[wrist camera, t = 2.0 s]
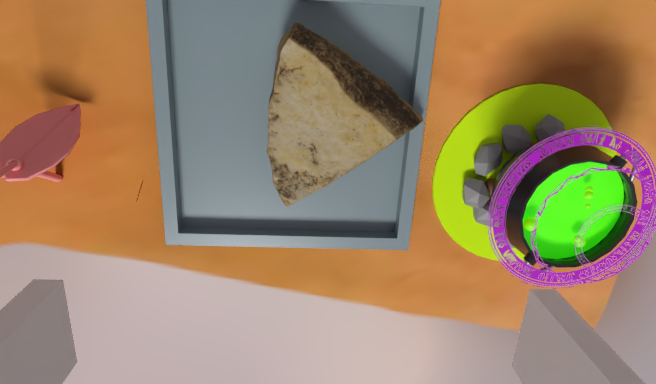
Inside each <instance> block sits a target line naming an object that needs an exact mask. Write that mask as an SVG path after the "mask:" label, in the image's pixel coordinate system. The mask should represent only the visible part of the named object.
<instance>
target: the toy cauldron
mask: <svg viewBox="0 0 656 384" xmlns="http://www.w3.org/2000/svg"><path fill="white" fill-rule="evenodd" d="M614 129H615V128H614ZM614 132H617V131H614ZM614 132H613V130H612V127H611V126H610V124H609V122H608V120H607V119H606V117H605V115H604V114H603V112H602V111H601V110H600V109H599V108H598V107H597V106H596V105H595V104H594V103H593V102H592V101H591V100H589V99H588V98H586V97H584V96H583V95H581V94H580V93H578V92H576V91H574V90H571V89H568V88H565V87H562V86H559V85H550V84H530V85H521V86H517V87H514V88H511V89H508V90H504V91H501V92H499V93H497V94H495V95H493V96H492V97H490V98H488V99H486V100H484V101H482V102H481V103H480V104H478V105H477V106H476V107H475V108H473V109H472V110H471V111H469V112H468V113H467V114H466V115H465V116H464V117H463V118H462V119H461V120H460V122H459V123H458V124H457V125H456V126H455V127H454V128H453V130H452V131H451V133H450V134H449V136H448V137H447V139H446V141H445V142H444V144H443V146H442V148H441V151H440V153H439V156H438V158H437V161H436V164H435V169H434V174H433V180H432V186H433V201H434V205H435V209H436V213H437V215H438V218H439V220H440V222H441V224H442V226H443V228H444V229H445V230H446V231H447V233H448V234H449V235H450V236H451V238H452V239H453V240H454V241H456V242H457V243H458V244H459V245H461V246H462V247H463V248H464V249H466V250H468V251H470V252H472V253H474V254H476V255H478V256H480V257H484V258H488V259H492V260H497V261H500V262H501V261H503V262H504V261H507V263H508V264H509V265H510V262H511V261H513V262H512V263H513V265H510V266H512V267H513V268H514V267H515V266H516V265H517V264H516V262H517V261H518V262H520V263H521V265H522V264H523V268H522V266H521V265H520V267H519V266H518V265H519V264H520V263H519V264H518V265H517V266H518V267H517V266H516V267H517V268H516V267H515V268H516V269H515V268H514V269H515V270H517V271H518V269H519V268H520V269H519V270H522V271H518V272H520V273H521V274H523V275H525V276H526V277H527V276H528V277H530V278H533V279H536V280H540V281H544V280H546V279H545V277H546V275H547V276H548V279H547V280H546V282H558V281H557V279H558V280H560V282H567V281H569V282H568V283H544V282H538V281H535V280H531V279H529V278H526V277H524V276H522V275H520V274H518V273H517V272H515V271H514V270H513V269H511V268H510V267H509V266H508V265H507V264H506V263H505V262H504V264H505V265H506V266H507V268H509V269H511V271H513V272H515V273H516V274H517V275H519V276H521V277H523V278H525V279H523V280H525V281H528V280H530V281H532V282H531V283H533V282H534V284H536V283H535V282H537V283H539V284H538V285H542V284H544V286H552V285H553V286H554V285H556V286H557V285H558V286H559V285H560V286H567V285H568V284H569V285H573V283H575V284H578V282H579V281H580V282H579V283H580V284H581V283H582V282H581V281H583V284H584V283H587V282H586V281H588V280H589V282H588V283H592V282H590V281H594V282H596V281H600V280H604V279H603V278H605V277H606V276H608V275H609V274H614V273H616V274H617V273H619V272H620V271H622V270H623V268H624V267H625V266H626V265H627V264H629V262H630V261H631V260H632V261H633V259H635V260H636V258H638V257H639V256H640V255H641V254H642V252H643V251H644V250H645V249H644V248H646V247H647V246H648V244H649V243H650V242H649V241H650V239H649V240H648V239H647V240H646V241H645V243H644V244H643V246H642V245H641V246H642V249H641V252H640V253H639V255H637V256H636V257H634V258H633V259H632V258H631V259H630V260H629V261H628V262H627V263H626V264H625V265H624V266H623V268H622V266H621V268H622V269H621V270H620V271H618V272H614V271H616V270H618V269H620V268H618V266H617V265H618V264H619V263H622V262H623V260H624V259H625V258H626V257H627V256H626V255H629V254H628V253H630V251H631V250H632V249H633V248H634V247H635V246H636V244H637V243H638V242H639V241H640V239H641V241H642V239H643V238H644V237H643V235H644V236H645V235H647V234H645V233H647V231H648V230H649V228H650V226H651V224H652V222H651V224H650V221H653V225H652V227H654V226H656V224H654V221H655V219H656V216H655V215H654V216H655V218H654V217H652V216H653V213H654V210H655V205H656V196H655V194H656V192H655V190H654V183H653V178H652V174H651V171H650V169H649V166H648V164H647V162H646V161H645V159H644V158H643V157H642V155H641V154H640V153H639V152H638V151H637V150H636V149H635V148H634V147H633V150H632V147H631V145H630V144H628V143H627V142H625V141H623V140H621V139H619V138H616V137H614V135H616V136H619V137H621V138H623V139H625V140H627V141H629V142H630V143H632V144H633V145H634V146H635V147H637V148H638V149H639V150H640V151H641V152H642V154H643V155H644V156H645V158H646V159H647V161H648V163H649V164H650V166H651V163H650V161H649V159H648V158H647V157H646V154H647V155H648V153H647V152H646V151H645V150H644V148H643V147H642V146H641V145H639V144H638V143H637V142H636V141H634V140H633V139H632V138H630V137H628V136H626V135H624V134H622V133H619V132H617V133H619V134H622V135H624V136H626V138H627V137H628V138H630V139H631V140H633V141H634V142H636V143H637V144H638V145H639V147H638V145H635V144H636V143H635V144H634V143H633V142H631V140H629V139H626V138H624V136H623V137H622V135H621V136H620V135H619V134H617V133H616V134H615V133H614ZM625 133H626V132H625ZM627 134H628V133H627ZM615 139H616V140H615ZM620 141H622V143H621V142H620ZM639 142H640V141H639ZM619 143H620V144H621V145H620V144H619ZM616 144H619V145H620V146H621V147H620V148H619V149H618V150H617V148H618V147H619V146H618V145H617V146H618V147H617V146H616ZM640 147H641V149H643V150H644V151H645V152H646V154H644V153H645V152H644V153H643V150H641V149H640ZM627 150H629V151H627ZM626 151H627V152H626ZM617 152H618V153H620V154H621V156H620V157H619V156H617ZM650 154H651V153H650ZM648 156H649V155H648ZM631 157H632V159H631ZM640 158H641V159H640ZM649 158H650V156H649ZM625 159H627V160H628V161H629V162H630V163H631V164H632V165H633V169H631V170H632V171H631V172H630V171H629V170H630V169H629V168H626V170H625V169H624V168H625V167H624V165H625V164H626V163H627V162H626V161H625ZM633 159H634V160H633ZM632 160H633V161H634V162H633V161H632ZM650 160H651V158H650ZM641 161H642V162H641ZM643 161H644V162H643ZM640 162H641V163H642V164H641V163H640ZM651 162H652V160H651ZM640 164H641V165H640ZM652 164H653V166H654V163H653V162H652ZM639 165H640V166H639ZM645 165H647V167H648V168H646V166H645ZM641 166H642V167H643V170H642V169H640V168H639V167H641ZM644 166H645V167H644ZM623 167H624V168H623ZM642 167H641V168H642ZM638 168H639V169H640V170H642V171H640V170H639V171H640V172H638ZM644 168H645V169H644ZM654 168H655V166H654ZM622 169H623V170H622ZM651 169H652V172H653V175H654V179H655V188H656V178H655V176H656V175H655V173H654V170H653V168H652V166H651ZM655 171H656V168H655ZM626 173H630V177H628V175H627V174H626ZM636 174H638V176H639V177H637V176H636ZM647 175H648V177H649V179H646V178H647ZM649 175H651V177H650V176H649ZM635 177H636V178H638V179H639V180H640V181H641V186H642V205H641V210H639V209H640V208H639V209H637V208H636V205H637V199H636V193H635V188H634V184H633V180H634V178H635ZM645 177H646V178H645ZM644 178H645V179H644ZM642 179H643V180H642ZM650 180H652V181H650ZM646 182H647V183H650V184H651V185H649V184H647V183H646ZM644 185H645V186H646V187H644ZM649 187H650V188H649ZM645 188H646V189H648V190H647V191H646V189H645ZM650 190H651V191H650ZM646 193H649V198H650V199H652V202H651V203H649V202H648V201H651V200H649V199H646V198H648V194H646ZM652 193H653V195H652ZM644 196H646V197H644ZM650 196H652V197H650ZM644 199H645V200H647V201H645V200H644ZM644 201H645V202H644ZM644 203H648V204H644ZM653 204H654V209H653V212H652V215H651V218H650V220H649V223H648V225H647V226H646V224H647V222H648V219H649V217H650V213H651V210H652V206H653ZM636 209H637V210H639V211H640V213H639V212H637V214H639V216H638V217H637V216H636V215H637V214H635V212H636V211H637V210H636ZM635 210H636V211H635ZM642 210H643V211H644V212H645V211H646V210H648V211H649V213H648V211H646V212H645V213H646V214H645V213H643V211H642ZM647 213H648V214H647ZM655 213H656V211H655ZM641 215H642V216H641ZM634 216H636V217H637V218H638V219H637V218H636V219H637V221H636V224H635V225H634V228H633V229H632V231H631V230H630V231H631V232H630V234H629V235H628V237H627V238H626V239H625V241H624V242H623V241H622V242H623V243H622V242H621V243H622V244H621V245H620V246H619V247H618V248H617V249H616V250H615V251H614V250H613V251H614V252H615V253H616V254H614V256H617V260H618V259H619V258H620V257H622V256H623V255H624V254H625V253H626V252H627V251H628V250H629V249H630V248H631V246H632V245H633V244H634V243H635V242H636V240H637V239H638V238H639V236H640V235H641V233H642V236H641V237H640V239H639V240H638V241H637V243H636V244H635V245H634V246H633V247H632V248H631V250H630V251H629V252H628V253H627V254H626V255H624V256H623V257H622V258H621V259H620V260H622V259H623V258H624V257H625V258H624V259H623V260H622V261H621V262H619V261H620V260H619V261H617V260H613V259H616V257H610V256H613V253H614V252H612V253H611V254H610V255H608V256H607V257H606V258H604V259H602V260H601V261H599V262H597V263H595V264H593V265H591V266H588V267H586V268H583V269H580V270H576V271H571V272H562V273H555V272H551V271H552V270H551V268H553V267H577V266H581V265H583V266H584V264H585V265H586V264H588V263H591V262H594V261H595V260H597V259H599V258H600V257H602V256H604V255H605V254H607V253H608V252H610V251H611V250H612V249H613V248H614V247H615V246H616V245H617V244H618V243H619V242H620V241H621V240H622V239H623V238H624V237H625V235H626V233H627V231H628V229H629V228H630V226H631V224H632V222H633V220H634ZM643 216H644V217H643ZM647 217H648V219H647ZM652 218H653V219H654V220H651V219H652ZM639 219H641V220H639ZM638 221H639V222H640V223H639V224H637V223H638ZM641 222H643V224H645V225H642V223H641ZM649 224H650V226H649ZM645 226H646V227H645ZM648 227H649V228H648ZM645 228H646V229H645ZM647 228H648V230H647ZM644 229H645V230H644ZM654 229H655V230H656V228H655V227H654ZM654 229H653V230H654ZM643 230H644V232H643ZM646 230H647V231H646ZM651 230H652V229H651ZM653 230H652V231H653ZM655 230H654V231H655ZM634 231H636V232H634ZM652 231H651V232H652ZM637 232H638V233H639V234H640V235H639V236H638V237H635V238H637V239H636V240H634V239H632V238H633V237H634V236H632V235H633V233H634V235H638V234H636V233H637ZM651 232H650V233H651ZM631 236H632V237H631ZM629 237H631V238H629ZM642 237H643V238H642ZM648 237H650V235H649V234H648ZM627 239H628V240H630V239H632V240H630V241H628V240H627ZM643 240H644V239H643ZM651 240H652V237H651ZM641 241H640V243H641ZM647 241H648V242H649V243H648V242H647ZM626 242H630V243H629V244H631V246H630V245H629V244H628V243H626ZM624 243H626V245H627V244H628V245H629V246H630V247H629V246H628V245H627V246H626V245H625V244H624ZM646 244H647V246H646V247H645V246H644V245H646ZM638 245H640V244H638ZM638 245H637V246H638ZM621 246H623V247H624V248H626V250H627V251H626V250H625V251H626V252H625V251H623V249H624V248H623V247H621ZM620 247H621V248H620ZM643 247H644V248H643ZM622 248H623V249H622ZM618 249H619V250H620V251H621V252H622V253H623V254H622V253H621V252H620V251H619V250H618ZM643 249H644V250H643ZM617 250H618V251H619V252H620V253H621V254H622V255H620V253H619V252H618V251H617ZM642 250H643V251H642ZM632 251H633V250H632ZM617 252H618V253H619V254H617ZM638 252H639V251H638ZM630 254H631V253H630ZM636 254H637V253H636ZM607 258H610V259H611V260H612V261H613V262H612V261H611V260H610V259H608V260H609V261H610V262H611V264H612V263H614V262H615V261H617V262H616V263H615V264H613V265H612V266H614V267H615V266H617V267H616V268H618V269H616V270H613V273H612V272H611V271H609V270H611V269H612V268H611V267H612V266H609V265H611V264H610V262H609V261H608V260H606V259H607ZM612 258H613V259H612ZM628 258H629V257H628ZM522 260H526V261H525V263H524V262H523V261H522ZM626 260H627V259H626ZM635 260H634V261H635ZM515 261H516V262H515ZM539 261H540V262H539ZM603 261H604V263H606V264H603V266H602V264H600V263H603ZM606 261H607V262H606ZM624 261H625V260H624ZM632 261H631V262H632ZM634 261H633V262H634ZM514 262H515V264H514ZM518 262H517V263H518ZM536 262H538V264H539V265H540V264H541V265H543V266H545V267H544V268H543V267H542V266H541V265H540V267H541V268H542V269H536V268H533V267H531V266H529V265H530V264H531V265H534V264H535V263H536ZM541 262H542V263H544V264H548V266H546V265H544V264H542V263H541ZM618 262H619V263H618ZM631 262H630V263H631ZM633 262H632V263H633ZM501 263H502V262H501ZM512 263H511V264H512ZM607 263H608V264H609V265H608V264H607ZM617 263H618V264H617ZM591 264H592V263H591ZM599 264H600V266H599ZM502 265H503V263H502ZM605 265H606V266H605ZM620 265H621V264H620ZM629 265H630V264H629ZM503 266H504V265H503ZM592 266H594V267H593V269H595V270H593V269H592ZM597 266H598V267H599V268H597ZM501 267H502V266H501ZM504 267H505V266H504ZM584 267H585V266H584ZM590 267H591V269H590ZM606 267H608V268H607V269H609V270H608V271H606V270H607V269H605V268H606ZM614 267H613V269H614ZM627 267H628V266H627ZM502 268H503V267H502ZM505 268H506V267H505ZM507 268H506V269H507ZM530 268H531V269H532V270H531V269H530ZM596 268H597V270H599V271H601V270H600V269H602V270H603V269H604V271H602V272H604V273H605V271H606V272H610V273H609V274H606V275H603V276H604V277H602V276H600V275H602V274H604V273H602V272H600V273H602V274H600V273H598V274H600V275H598V274H596V275H593V276H591V277H588V278H585V279H581V278H580V277H583V278H584V277H587V275H588V272H590V273H589V275H588V276H590V275H592V273H593V274H595V273H594V272H596V273H597V272H599V271H597V270H596ZM509 269H507V270H508V271H510V270H509ZM528 269H530V270H531V271H530V270H529V271H528ZM533 269H534V270H535V271H534V270H533ZM587 269H588V270H587ZM624 269H625V268H624ZM548 270H549V272H546V271H548ZM550 270H551V271H550ZM584 270H585V271H584ZM511 271H510V272H511ZM580 271H581V275H580ZM582 271H583V272H582ZM586 271H588V272H586ZM591 271H592V272H591ZM593 271H594V272H593ZM513 272H511V273H512V274H514V275H515V273H513ZM573 272H574V273H575V275H573V274H572V273H573ZM585 272H586V273H585ZM541 273H545V276H544V274H543V275H542V274H541ZM546 273H548V274H549V275H548V274H546ZM569 273H571V274H572V277H571V274H570V278H569V275H568V274H569ZM582 273H583V274H582ZM540 274H541V275H542V277H541V275H540ZM565 274H566V275H565ZM585 274H586V275H585ZM510 275H511V274H510ZM517 275H515V276H517ZM539 275H540V276H539ZM553 275H554V276H553ZM556 275H558V276H556ZM562 275H563V276H564V275H565V276H564V277H563V276H562ZM567 275H568V277H567ZM597 275H598V276H600V277H602V278H601V279H599V280H595V279H594V280H592V279H593V278H592V277H594V278H595V276H596V277H598V276H597ZM614 275H615V274H614ZM519 276H517V277H519ZM538 276H539V278H538ZM551 276H553V277H552V278H551ZM579 276H580V277H579ZM612 276H613V275H612ZM513 277H514V276H513ZM540 277H541V279H540ZM543 277H544V278H543ZM557 277H558V278H557ZM610 277H611V276H610ZM519 278H520V277H519ZM546 278H547V277H546ZM561 278H562V279H563V280H564V279H565V280H564V281H563V280H562V279H561ZM571 278H572V280H571ZM589 278H591V279H589ZM607 278H609V277H607ZM521 279H522V278H521ZM526 279H527V280H526ZM542 279H543V280H542ZM550 279H551V281H550ZM552 279H553V281H552ZM577 279H578V281H577ZM579 279H580V280H579ZM605 279H606V278H605ZM585 280H586V281H585ZM520 281H521V280H520ZM530 281H528V282H530ZM573 281H574V282H573ZM522 282H523V281H522ZM576 282H577V283H576ZM524 283H525V282H524ZM540 283H542V284H540ZM571 283H572V284H571ZM527 284H528V283H527ZM545 284H547V285H545ZM548 284H549V285H548ZM563 284H564V285H563ZM565 284H567V285H565ZM530 285H531V284H530ZM534 286H535V285H534ZM537 287H540V286H537ZM571 287H573V286H571ZM544 288H547V287H544ZM562 288H565V287H562Z"/></svg>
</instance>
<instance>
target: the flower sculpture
mask: <svg viewBox="0 0 656 384" xmlns="http://www.w3.org/2000/svg"><path fill="white" fill-rule="evenodd" d="M80 114H81V110H80V105H79V104H74V105H69V106H64V107H60V108H57V109H53V110H50V111H46V112H43V113H39V114H36V115H35V116H33V117H31V118H30V119H28V120H26V121H24V122H23V123H21V124H19V125H18V126H16V127H15V128H14V129H13V130H12V131H11V132H10V133H9V134H8V135H7V136H6V137H5V138H4V139H3V140H2V141H1V143H0V178H3V177H5V180H6V181H7V182H11V181H27V180H30V179H32V178H34V177H36V176H37V177H41V178H45V179H49V180H53V181H57V182H60V181H62V176H61V175H58V174H55V173H52V172H48V170H50V169H52V168H54V167H55V166H56V165H57V164H58V163H60V162H61V161H62V160H63V159H64V158H65V157H66V156H67V155H69V154H70V152H71V150H72V148H73V147H74V145H75V143H76V142H77V140H78V138H79V137H80V130H79V126H80V127H81V122H80ZM142 183H143V181H142ZM141 186H142V184H141ZM140 189H141V188H140ZM139 193H140V191H139ZM138 196H139V195H138ZM137 200H138V198H137ZM136 202H137V201H136Z"/></svg>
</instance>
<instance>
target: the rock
mask: <svg viewBox="0 0 656 384" xmlns="http://www.w3.org/2000/svg"><path fill="white" fill-rule="evenodd" d="M268 111H269V113H268V121H269V124H268V145H267V155H268V157H269V159H270V163H271V169H272V175H273V184H274V186H275V188H276V190H277V191H278V193H279V197H280V198H281V200H282V201H283V203H284V205H285V206H287V207H288V206H290V205H292V204H294V203H296V202H297V201H299V200H301V199H303V198H304V197H306V196H308V195H310V194H312V193H315V192H316V191H318V190H320V189H322V188H324V187H326V186H328V185H329V184H330V183H332V182H333V181H335V180H337V179H338V178H340V177H341V176H343V175H345V174H347V173H349V172H350V171H352V170H354V169H355V168H357V167H358V166H360V165H361V164H363V163H364V162H366V161H368V160H369V159H370V158H371V157H373V156H374V155H375V154H377V153H378V152H379V151H381V150H383V149H384V148H386V147H388V146H389V145H391V144H392V143H393V142H395V141H397V140H398V139H399V138H400V137H402V136H403V135H405V134H406V133H408V132H409V131H411V130H413V129H414V128H415V127H417V126H418V125H419V124H420V123H422V122H423V121H424V120H423V117H422V116H421V115H419V114H418V113H416V112H415V111H414V110H413V108H412V107H411V105H410V104H409V103H407V102H406V101H404V100H403V99H401V98H400V97H399V96H398V94H397V93H396V92H395V90H394V89H393V88H392V87H391V86H390V85H389V84H388V83H387V82H386V81H385V80H383V79H381V78H379V77H377V76H376V75H375V74H373V73H372V72H370V71H368V70H367V69H366V68H365V67H364V66H363V65H362V64H361V63H359V62H357V61H356V60H354V59H353V58H352V57H351V56H350V55H349V54H347V53H346V52H345V51H343V50H342V49H341V48H340V47H338V46H336V45H334V44H332V43H330V42H329V41H328V40H327V39H326V38H324V37H322V36H320V35H318V34H316V33H314V32H313V31H311V30H309V29H308V28H306V27H305V26H304V25H302V24H300V23H294V24H293V26H292V27H291V29H290V31H289V32H288V31H287V32H286V34H285V35H284V36H283V37H282V38H281V40H280V43H279V45H278V49H277V61H276V65H275V71H274V81H273V88H272V92H271V95H270V99H269V106H268Z"/></svg>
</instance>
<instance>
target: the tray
mask: <svg viewBox="0 0 656 384" xmlns="http://www.w3.org/2000/svg"><path fill="white" fill-rule="evenodd" d="M440 1H441V0H146V7H147V19H148V32H149V44H150V56H151V69H152V81H153V93H154V106H155V118H156V130H157V142H158V155H159V167H160V179H161V192H162V204H163V216H164V228H165V241H166V245H198V246H244V247H291V248H337V249H384V250H408V247H409V240H410V232H411V224H412V216H413V209H414V201H415V193H416V186H417V178H418V170H419V163H420V155H421V147H422V139H423V132H424V124H425V116H426V109H427V101H428V93H429V85H430V78H431V70H432V62H433V55H434V47H435V39H436V32H437V24H438V16H439V8H440ZM294 23H300V24H302V25H304V26H305V27H306V28H308V29H309V30H311V31H313V32H314V33H316V34H318V35H320V36H322V37H324V38H326V39H327V40H328V41H329V42H330V43H332V44H334V45H336V46H338V47H340V48H341V49H342V50H343V51H345V52H346V53H347V54H349V55H350V56H351V57H352V58H353V59H354V60H356V61H357V62H359V63H361V64H362V65H363V66H364V67H365V68H366V69H367V70H368V71H370V72H372V73H373V74H375V75H376V76H377V77H379V78H381V79H383V80H385V81H386V82H387V83H388V84H389V85H390V86H391V87H392V88H393V89H394V90H395V92H396V93H397V94H398V96H399V97H400V98H401V99H403V100H404V101H406V102H407V103H409V104H410V105H411V107H412V108H413V110H414V111H415V112H416V113H418V114H419V115H421V116H422V117H423V120H424V121H423V122H422V123H420V124H419V125H418V126H417V127H415V128H414V129H413V130H411V131H409V132H408V133H406V134H405V135H403V136H402V137H400V138H399V139H398V140H397V141H395V142H393V143H392V144H391V145H389V146H388V147H386V148H384V149H383V150H381V151H379V152H378V153H377V154H375V155H374V156H373V157H371V158H370V159H369V160H368V161H366V162H364V163H363V164H361V165H360V166H358V167H357V168H355V169H354V170H352V171H350V172H349V173H347V174H345V175H343V176H341V177H340V178H338V179H337V180H335V181H333V182H332V183H330V184H329V185H328V186H326V187H324V188H322V189H320V190H318V191H316V192H315V193H312V194H310V195H308V196H306V197H304V198H303V199H301V200H299V201H297V202H296V203H294V204H292V205H290V206H288V207H287V206H285V205H284V203H283V201H282V200H281V198H280V197H279V193H278V191H277V190H276V188H275V186H274V184H273V175H272V169H271V163H270V159H269V157H268V155H267V145H268V124H269V121H268V113H269V111H268V106H269V99H270V95H271V92H272V88H273V81H274V71H275V65H276V61H277V49H278V45H279V43H280V40H281V38H282V37H283V36H284V35H285V34H286V32H287V31H288V32H289V31H290V29H291V27H292V26H293V24H294Z"/></svg>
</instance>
